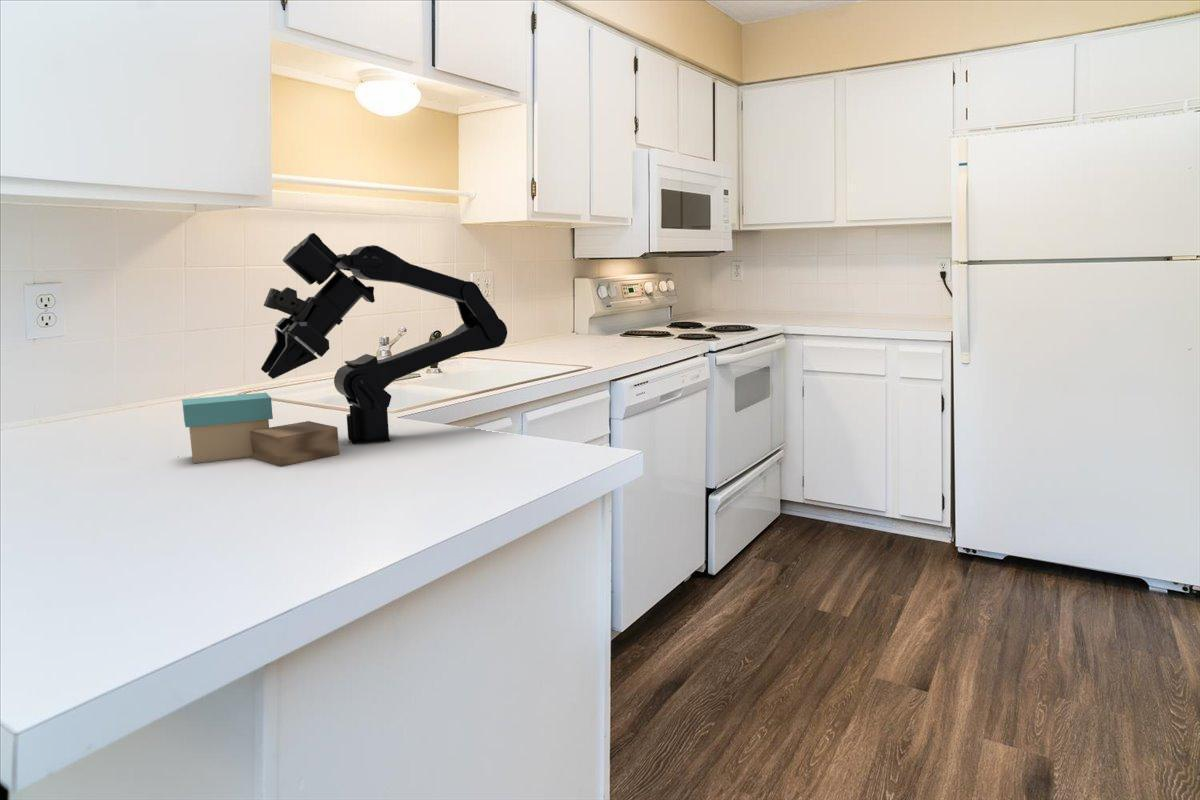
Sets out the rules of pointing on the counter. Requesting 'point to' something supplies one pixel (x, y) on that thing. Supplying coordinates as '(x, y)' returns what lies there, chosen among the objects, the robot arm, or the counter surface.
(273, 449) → the walnut block
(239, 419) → the lid
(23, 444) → the counter surface
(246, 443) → the box
